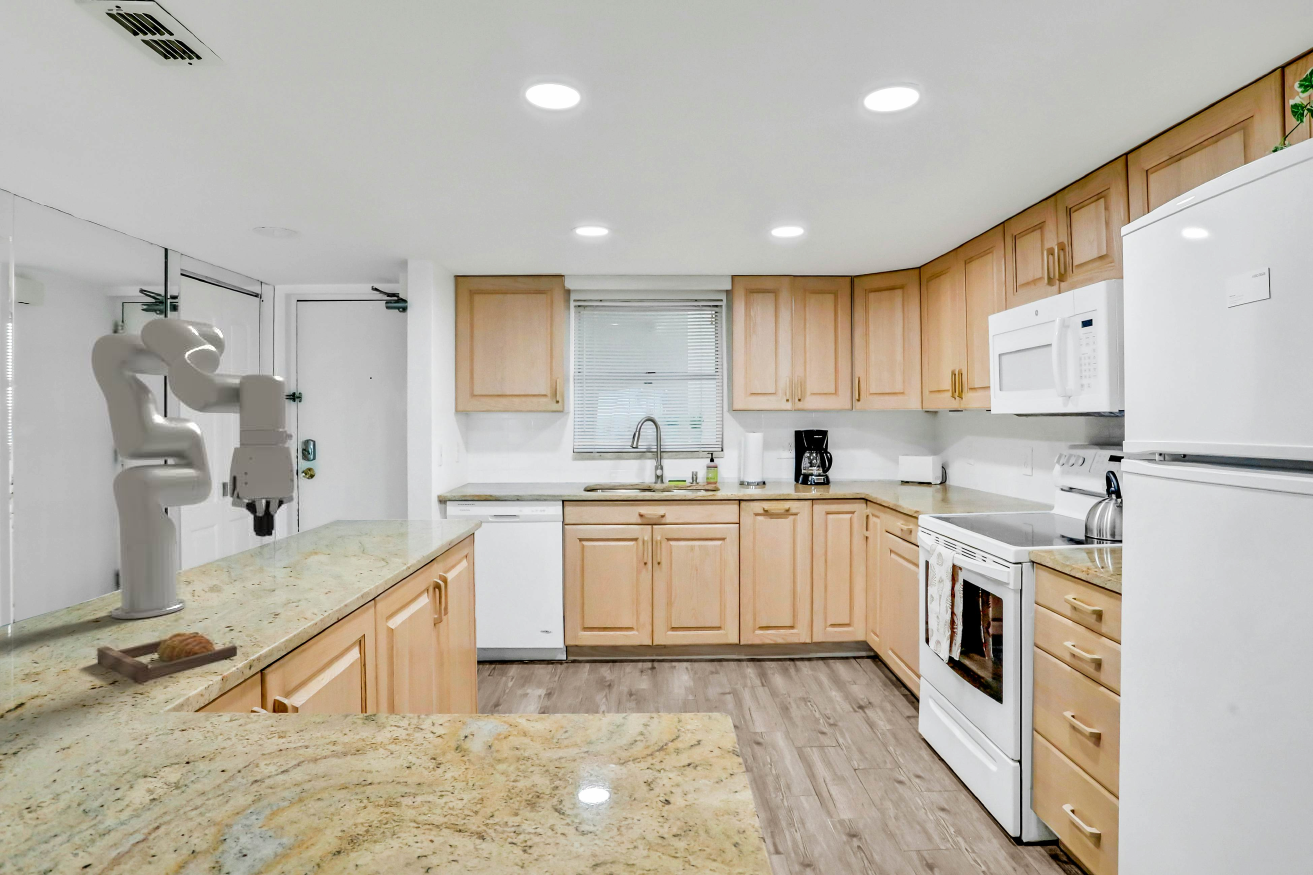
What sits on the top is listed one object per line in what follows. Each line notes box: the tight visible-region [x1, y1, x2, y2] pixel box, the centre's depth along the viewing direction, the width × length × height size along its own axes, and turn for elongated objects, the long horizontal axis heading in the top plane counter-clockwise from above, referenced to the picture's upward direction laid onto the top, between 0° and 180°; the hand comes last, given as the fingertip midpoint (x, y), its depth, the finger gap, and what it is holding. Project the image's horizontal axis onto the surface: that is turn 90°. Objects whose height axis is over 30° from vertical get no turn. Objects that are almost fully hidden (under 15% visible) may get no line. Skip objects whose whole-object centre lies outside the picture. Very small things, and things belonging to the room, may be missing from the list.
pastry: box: [156, 632, 216, 663], centre depth 110 cm, size 9×7×4 cm
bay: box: [96, 631, 238, 685], centre depth 109 cm, size 17×14×2 cm
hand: (263, 535), depth 123 cm, fingers closed
